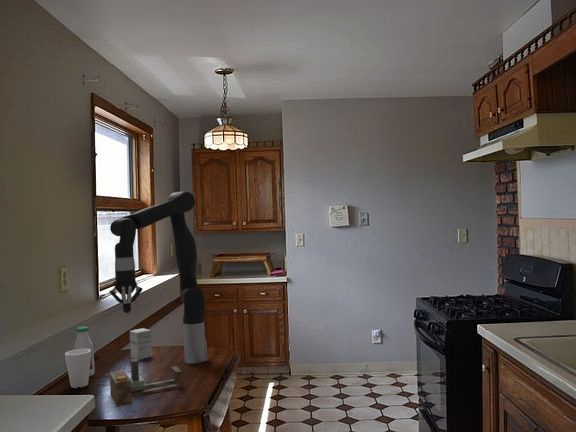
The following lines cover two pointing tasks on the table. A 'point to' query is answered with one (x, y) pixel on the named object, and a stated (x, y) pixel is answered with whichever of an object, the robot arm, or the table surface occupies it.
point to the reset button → (121, 378)
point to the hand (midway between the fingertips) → (127, 312)
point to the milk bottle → (85, 345)
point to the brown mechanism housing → (123, 388)
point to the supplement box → (140, 343)
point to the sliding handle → (136, 377)
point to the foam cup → (78, 367)
